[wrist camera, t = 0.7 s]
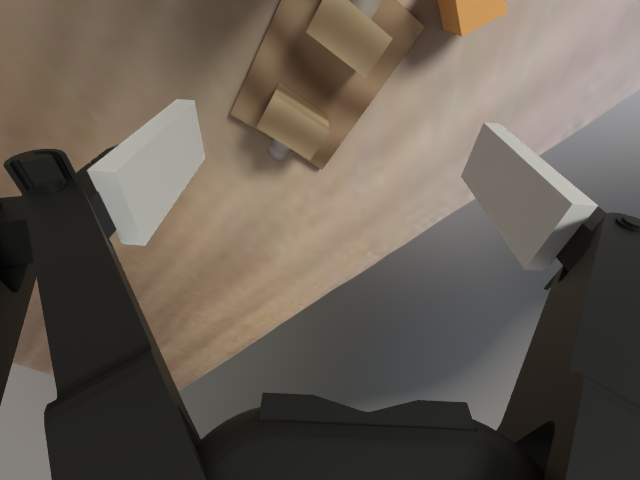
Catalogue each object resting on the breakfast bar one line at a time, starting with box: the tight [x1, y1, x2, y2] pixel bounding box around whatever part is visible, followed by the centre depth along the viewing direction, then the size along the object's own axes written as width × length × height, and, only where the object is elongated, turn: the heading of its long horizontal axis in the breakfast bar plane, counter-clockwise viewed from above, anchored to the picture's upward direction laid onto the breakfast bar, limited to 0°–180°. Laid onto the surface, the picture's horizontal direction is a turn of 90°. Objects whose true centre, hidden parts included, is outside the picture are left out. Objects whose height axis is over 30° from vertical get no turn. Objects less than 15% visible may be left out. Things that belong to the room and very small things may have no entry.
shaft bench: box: [230, 0, 425, 169], centre depth 34 cm, size 20×14×7 cm
